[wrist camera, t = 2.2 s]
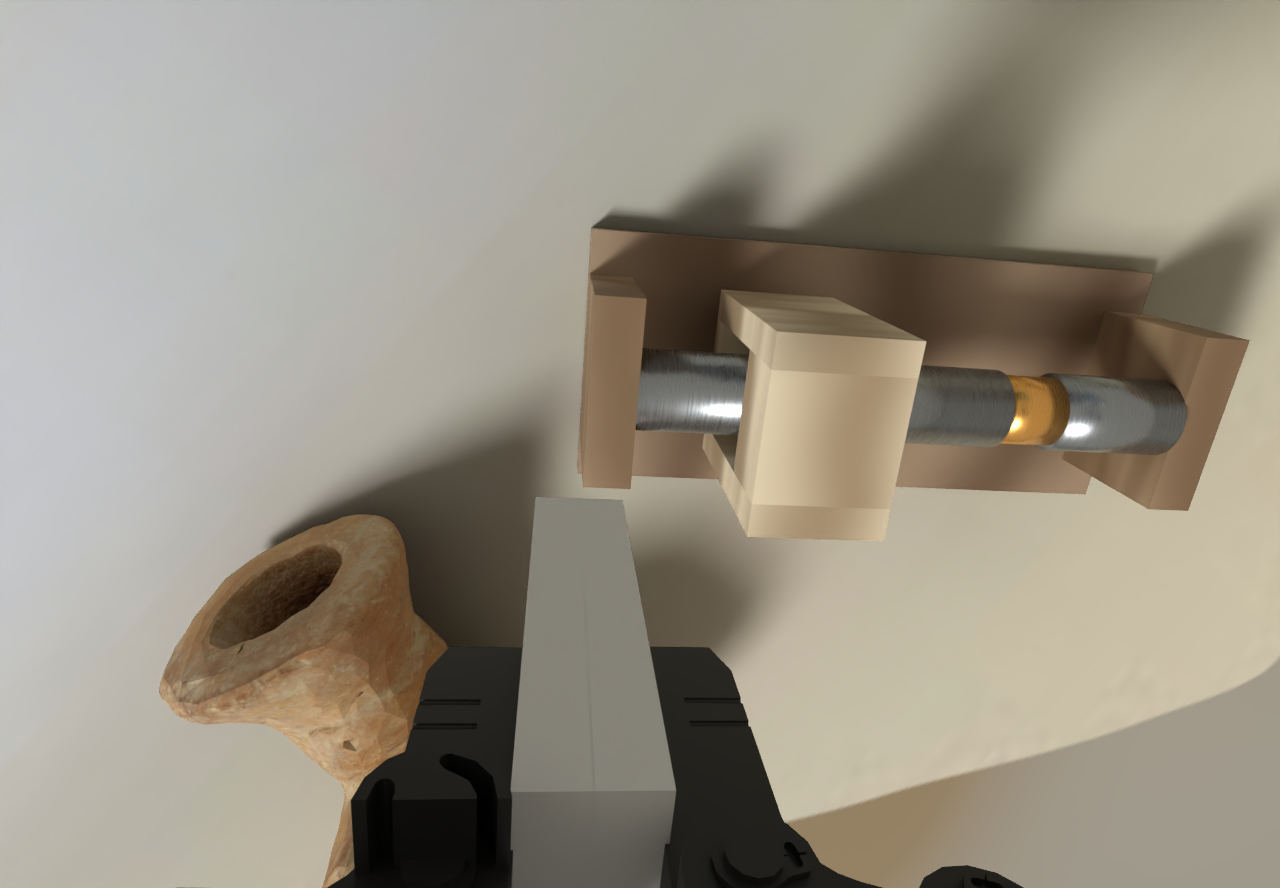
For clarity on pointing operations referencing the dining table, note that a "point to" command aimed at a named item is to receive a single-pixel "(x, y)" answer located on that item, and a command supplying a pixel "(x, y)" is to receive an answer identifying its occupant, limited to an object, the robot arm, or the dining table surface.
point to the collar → (814, 416)
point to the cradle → (923, 306)
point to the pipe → (314, 653)
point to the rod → (940, 405)
